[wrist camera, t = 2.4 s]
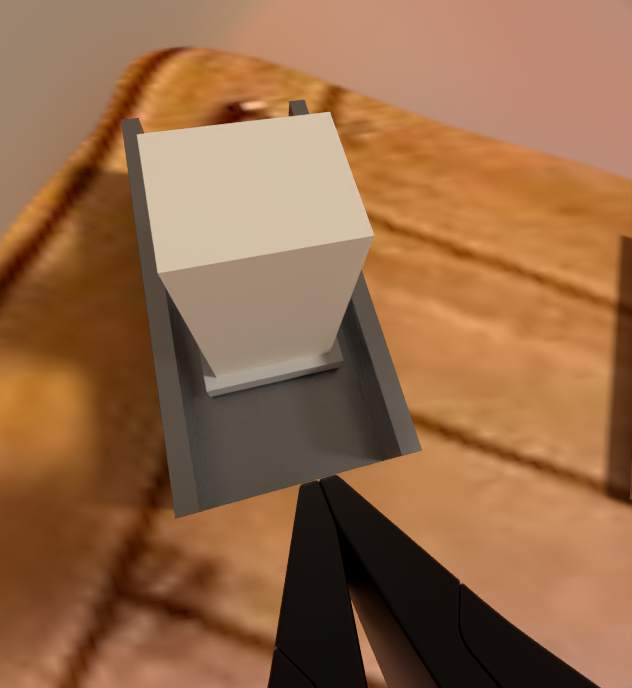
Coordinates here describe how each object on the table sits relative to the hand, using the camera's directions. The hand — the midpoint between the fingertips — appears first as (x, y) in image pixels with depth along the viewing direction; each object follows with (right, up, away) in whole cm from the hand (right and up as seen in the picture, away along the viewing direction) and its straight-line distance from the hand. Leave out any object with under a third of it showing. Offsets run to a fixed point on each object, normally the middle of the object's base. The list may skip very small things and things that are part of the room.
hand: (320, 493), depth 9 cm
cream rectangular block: (-2, +4, +10) cm, 11 cm away
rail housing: (-3, +5, +12) cm, 13 cm away
